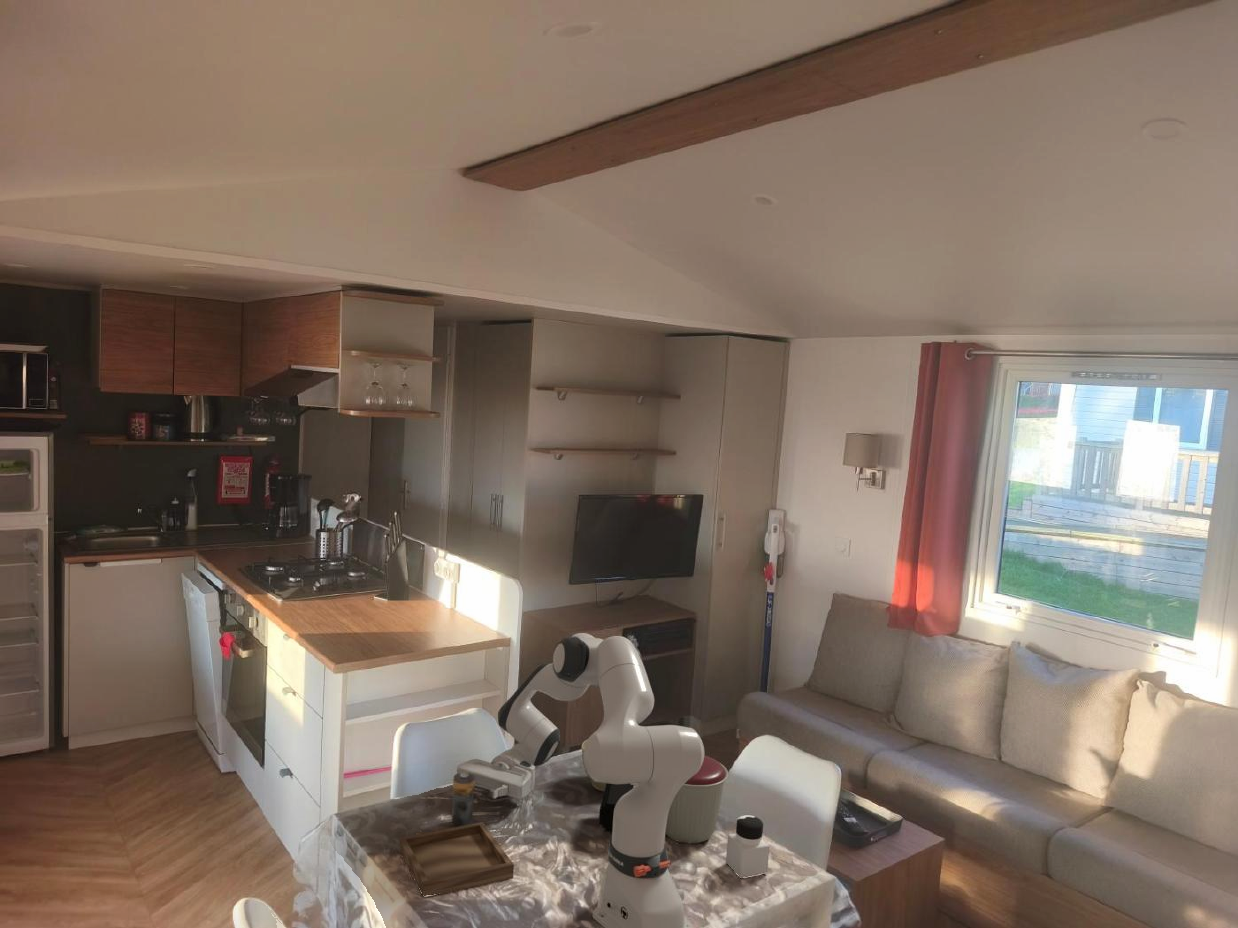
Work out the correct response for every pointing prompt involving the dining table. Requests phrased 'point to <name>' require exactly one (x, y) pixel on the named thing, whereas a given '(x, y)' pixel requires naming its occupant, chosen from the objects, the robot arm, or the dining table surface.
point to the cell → (462, 799)
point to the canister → (697, 804)
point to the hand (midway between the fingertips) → (476, 789)
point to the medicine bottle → (747, 847)
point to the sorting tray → (455, 859)
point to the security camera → (611, 803)
